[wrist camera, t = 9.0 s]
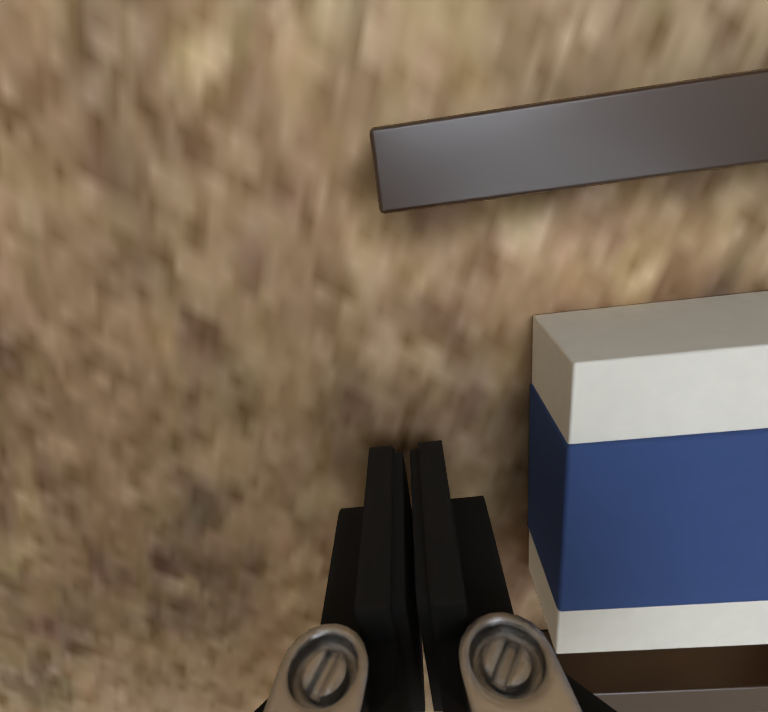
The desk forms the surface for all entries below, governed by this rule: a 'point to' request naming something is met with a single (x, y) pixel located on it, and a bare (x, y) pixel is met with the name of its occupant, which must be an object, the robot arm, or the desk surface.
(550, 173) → the bay
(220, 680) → the desk surface
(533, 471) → the eraser
